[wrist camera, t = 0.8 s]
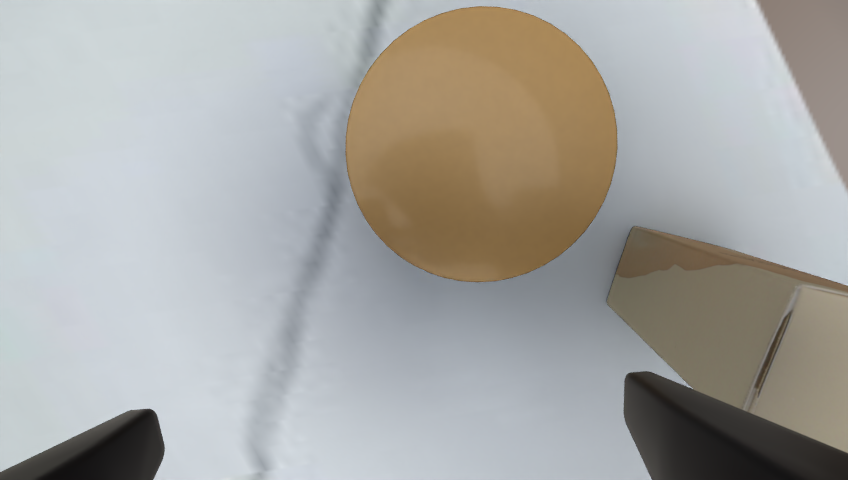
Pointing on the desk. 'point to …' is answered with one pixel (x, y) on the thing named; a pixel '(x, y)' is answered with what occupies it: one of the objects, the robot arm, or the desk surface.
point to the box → (741, 329)
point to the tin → (481, 144)
